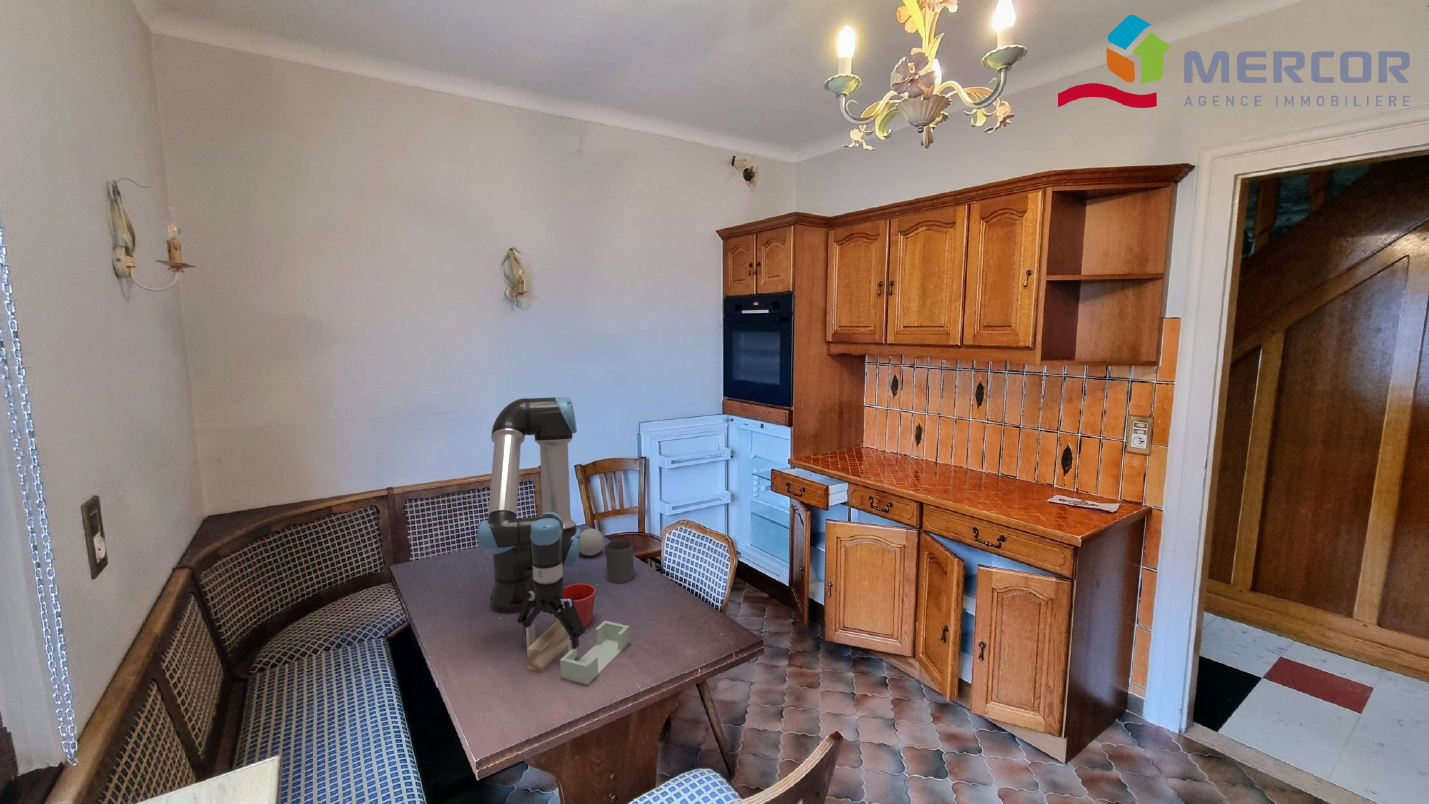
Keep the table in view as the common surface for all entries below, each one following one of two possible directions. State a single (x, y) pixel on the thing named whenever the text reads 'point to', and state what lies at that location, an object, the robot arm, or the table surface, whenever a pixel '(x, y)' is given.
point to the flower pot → (581, 600)
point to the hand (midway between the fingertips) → (552, 653)
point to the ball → (591, 542)
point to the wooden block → (547, 647)
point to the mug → (619, 561)
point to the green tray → (596, 654)
